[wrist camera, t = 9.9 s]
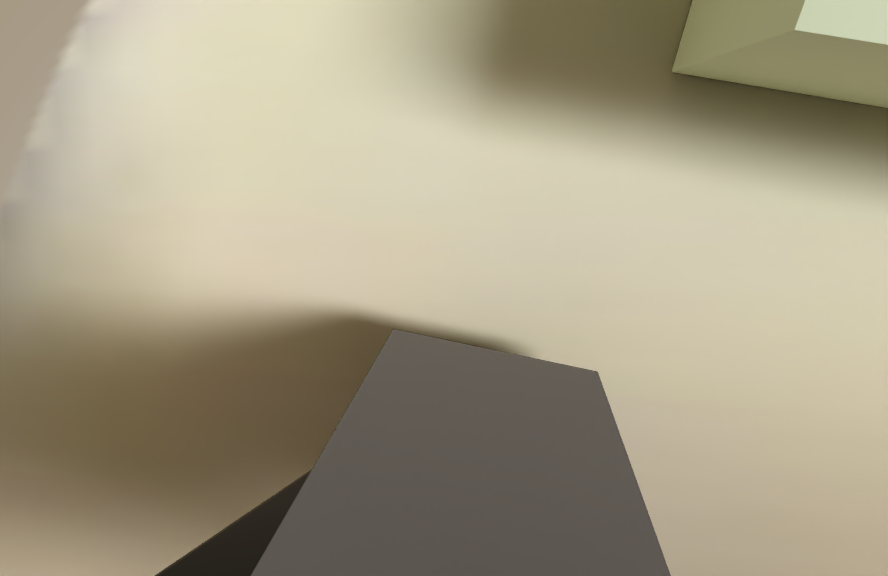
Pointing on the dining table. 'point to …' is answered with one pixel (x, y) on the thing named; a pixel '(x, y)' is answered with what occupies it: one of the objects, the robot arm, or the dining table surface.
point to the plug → (469, 475)
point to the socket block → (791, 46)
